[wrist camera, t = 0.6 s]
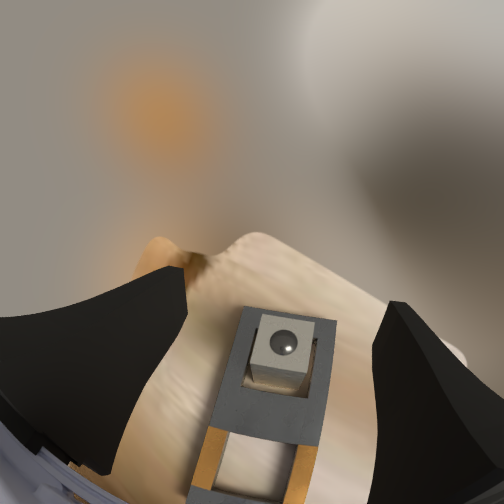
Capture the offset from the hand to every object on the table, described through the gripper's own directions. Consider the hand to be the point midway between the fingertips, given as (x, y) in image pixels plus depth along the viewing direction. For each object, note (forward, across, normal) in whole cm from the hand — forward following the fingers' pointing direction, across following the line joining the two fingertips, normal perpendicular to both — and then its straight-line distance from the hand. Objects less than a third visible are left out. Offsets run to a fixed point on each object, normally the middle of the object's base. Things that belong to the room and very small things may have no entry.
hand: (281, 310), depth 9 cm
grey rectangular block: (+11, 0, +16) cm, 20 cm away
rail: (+6, 0, +18) cm, 19 cm away
